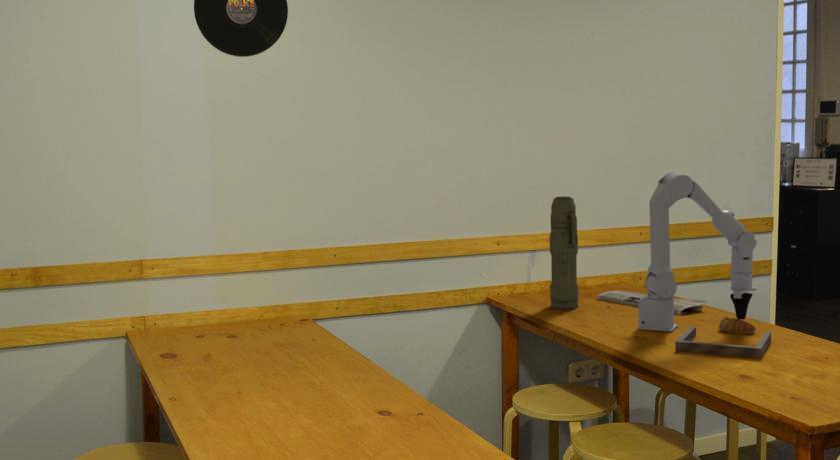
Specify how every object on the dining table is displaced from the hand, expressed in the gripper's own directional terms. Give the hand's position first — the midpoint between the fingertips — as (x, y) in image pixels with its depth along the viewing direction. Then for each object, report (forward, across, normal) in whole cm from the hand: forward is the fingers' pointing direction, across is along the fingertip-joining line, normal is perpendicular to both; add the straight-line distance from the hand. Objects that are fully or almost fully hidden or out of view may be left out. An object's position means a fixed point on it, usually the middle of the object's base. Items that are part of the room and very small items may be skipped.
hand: (741, 318), depth 277 cm
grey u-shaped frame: (+2, -27, 0) cm, 27 cm away
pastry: (+2, -9, 0) cm, 9 cm away
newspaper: (+2, +19, +30) cm, 36 cm away
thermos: (+2, +6, +55) cm, 55 cm away
